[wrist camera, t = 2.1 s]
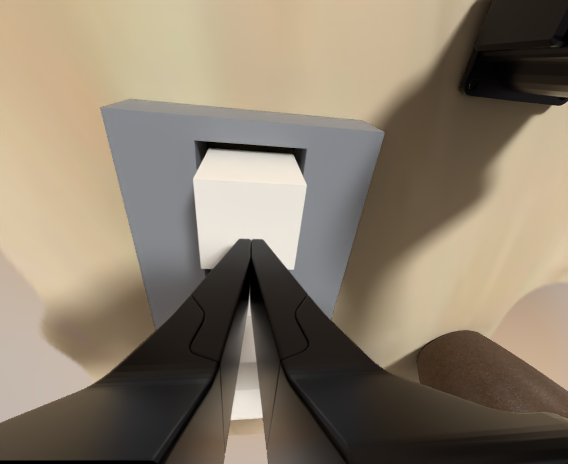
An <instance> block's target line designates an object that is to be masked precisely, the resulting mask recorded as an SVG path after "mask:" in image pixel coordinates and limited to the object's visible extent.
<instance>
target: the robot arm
mask: <svg viewBox="0 0 568 464" xmlns="http://www.w3.org/2000/svg"><path fill="white" fill-rule="evenodd" d="M471 81H473V82H474V83H473V86H472V87H471V88H470V89H469V84H470V83H471ZM459 90H460V93H461V94H463V95H468V96H476V97H485V98H494V99H503V100H512V101H521V102H530V103H539V104H547V105H556V106H559V105H563V104H565V103H566V102H567V101H568V0H492V3H491V5H490V8H489V10H488V13H487V15H486V18H485V20H484V23H483V25H482V28H481V30H480V33H479V35H478V38H477V40H476V43H475V47H474V50H473V52H472V55H471V57H470V60H469V62H468V65H467V67H466V70H465V72H464V75H463V77H462V80H461V82H460V86H459ZM249 295H250V310H251V318H252V327H253V336H254V345H255V353H256V362H257V371H258V380H259V388H260V397H261V406H262V415H263V423H264V432H265V440H266V449H267V459H268V464H568V419H567V418H565V417H562V416H559V415H557V414H554V413H549V412H533V413H512V412H506V411H500V410H496V409H492V408H488V407H485V406H482V405H478V404H475V403H472V402H470V401H467V400H464V399H461V398H458V397H455V396H453V395H450V394H447V393H444V392H441V391H438V390H436V389H433V388H430V387H427V386H424V385H422V384H419V383H416V382H413V381H410V380H407V379H405V378H402V377H399V376H396V375H394V374H392V373H390V372H388V371H386V370H385V369H383V368H381V367H380V366H379V365H377V364H376V363H375V362H374V361H373V360H371V359H370V358H369V357H368V356H367V355H366V354H365V353H364V352H363V351H362V350H361V349H360V348H359V347H358V346H357V345H356V344H355V343H354V342H353V341H352V340H351V339H350V338H349V337H347V336H346V335H345V334H344V333H343V332H342V331H341V330H340V329H339V328H338V327H337V326H336V325H335V324H334V323H333V322H332V321H331V320H330V319H329V318H328V317H327V316H326V315H325V314H324V312H323V311H322V310H321V309H320V308H319V307H318V306H317V304H316V303H315V302H314V301H313V300H312V298H311V297H310V296H308V294H307V292H306V291H305V290H304V289H303V287H302V286H301V285H300V284H299V283H298V281H297V280H296V279H295V278H294V276H293V275H292V274H291V273H290V272H289V270H288V269H287V268H286V267H285V265H284V264H283V263H282V262H281V260H280V259H279V258H278V257H277V256H276V254H275V253H274V252H273V251H272V249H271V248H270V247H269V246H268V245H267V243H266V242H265V241H264V240H263V239H252V240H250V239H238V240H237V242H236V243H235V244H234V245H233V246H232V247H231V248H230V250H229V251H228V252H227V253H226V254H225V255H224V257H223V258H222V259H221V260H220V261H219V262H218V263H217V265H216V266H215V267H214V268H213V269H212V270H211V271H210V273H209V274H208V275H207V276H206V277H205V278H204V280H203V281H202V282H201V283H200V284H199V285H198V286H197V288H196V289H195V290H194V291H193V292H192V293H191V294H190V296H189V297H188V298H187V299H186V300H185V301H184V302H183V303H182V305H181V306H180V307H179V308H178V309H177V310H176V311H175V312H174V313H173V314H172V315H171V316H170V317H169V318H168V319H167V320H166V321H165V322H164V323H163V324H162V325H161V326H160V327H159V328H158V329H157V330H156V331H155V332H154V333H153V334H151V335H150V336H149V337H148V338H147V339H146V340H145V341H144V342H143V343H142V344H140V345H139V346H138V347H137V348H136V349H135V350H134V351H133V352H132V353H131V354H130V355H128V356H127V357H126V358H125V359H124V360H123V361H122V362H121V363H120V364H119V365H117V366H116V367H115V368H114V369H113V370H112V371H111V372H109V373H108V374H107V375H105V376H104V377H103V378H101V379H100V380H98V381H97V382H95V383H94V384H92V385H91V386H89V387H87V388H85V389H83V390H81V391H78V392H76V393H73V394H71V395H68V396H66V397H63V398H61V399H58V400H56V401H53V402H51V403H48V404H46V405H43V406H41V407H39V408H36V409H33V410H31V411H28V412H26V413H24V414H21V415H18V416H16V417H14V418H11V419H8V420H6V421H4V422H1V423H0V464H223V463H224V457H225V451H226V445H227V439H228V432H229V426H230V420H231V414H232V407H233V401H234V395H235V388H236V382H237V376H238V369H239V363H240V357H241V351H242V344H243V338H244V332H245V325H246V319H247V313H248V306H249Z"/></svg>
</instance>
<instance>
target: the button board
mask: <svg viewBox="0 0 568 464" xmlns="http://www.w3.org/2000/svg"><path fill="white" fill-rule="evenodd" d="M100 109H101V113H102V117H103V121H104V125H105V129H106V133H107V137H108V141H109V145H110V149H111V153H112V157H113V161H114V165H115V169H116V173H117V177H118V181H119V185H120V189H121V193H122V197H123V201H124V205H125V209H126V213H127V217H128V221H129V225H130V229H131V233H132V237H133V241H134V245H135V249H136V253H137V257H138V261H139V265H140V269H141V273H142V277H143V281H144V285H145V289H146V293H147V297H148V301H149V305H150V309H151V313H152V317H153V321H154V325H155V329H156V330H157V329H158V328H159V327H160V326H161V325H162V324H163V323H164V322H165V321H166V320H167V319H168V318H169V317H170V316H171V315H172V314H173V313H174V312H175V311H176V310H177V309H178V308H179V307H180V306H181V305H182V303H183V302H184V301H185V300H186V299H187V298H188V297H189V296H190V294H191V293H192V292H193V291H194V290H195V289H196V288H197V286H198V285H199V284H200V283H201V282H202V281H203V280H204V278H205V277H206V276H207V275H208V274H209V273H210V271H211V270H212V269H201V263H200V252H199V241H198V229H197V218H196V207H195V196H194V185H193V178H194V176H195V174H196V172H197V170H198V168H199V167H200V165H201V163H202V161H203V159H204V157H205V155H206V141H210V142H223V143H237V144H250V145H264V146H277V147H290V148H296V153H295V160H296V162H297V164H298V166H299V169H300V171H301V173H302V175H303V178H304V180H305V182H306V184H307V188H306V195H305V201H304V208H303V214H302V221H301V227H300V234H299V240H298V247H297V253H296V260H295V266H294V270H289V272H290V273H291V274H292V275H293V276H294V278H295V279H296V280H297V281H298V283H299V284H300V285H301V286H302V287H303V289H304V290H305V291H306V292H307V294H308V296H310V297H311V298H312V300H313V301H314V302H315V303H316V304H317V306H318V307H319V308H320V309H321V310H322V311H323V312H324V314H325V315H326V316H327V317H328V318H329V319H330V320H331V318H332V314H333V311H334V307H335V304H336V301H337V297H338V294H339V290H340V287H341V283H342V280H343V276H344V273H345V269H346V266H347V263H348V259H349V256H350V252H351V249H352V245H353V242H354V238H355V235H356V231H357V228H358V224H359V221H360V218H361V214H362V211H363V207H364V204H365V200H366V197H367V193H368V190H369V186H370V183H371V179H372V176H373V173H374V169H375V166H376V162H377V159H378V155H379V152H380V148H381V145H382V141H383V138H384V135H385V132H384V131H382V130H380V129H378V128H376V127H374V126H372V125H370V124H368V123H366V122H364V121H362V120H352V119H341V118H330V117H319V116H308V115H297V114H287V113H276V112H265V111H254V110H243V109H232V108H222V107H211V106H200V105H189V104H178V103H168V102H157V101H146V100H135V99H128V100H125V101H121V102H118V103H114V104H110V105H107V106H103V107H100Z"/></svg>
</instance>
